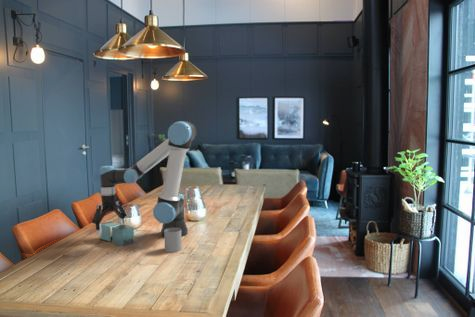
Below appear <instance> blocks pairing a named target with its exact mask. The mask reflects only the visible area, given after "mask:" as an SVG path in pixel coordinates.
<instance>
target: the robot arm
mask: <svg viewBox="0 0 475 317" xmlns="http://www.w3.org/2000/svg"><path fill="white" fill-rule="evenodd" d="M196 136H197V129H196V126H195V125H194V124H193V123H192V122H190V121H186V120H183V121H182V120H179V121H178V120H177V121H176V122H173V123H172V124H171V125H170V126H169V128H168V130H167V139H166V140H164V141H163V142H162V143H160V144H159V145H158V146H156V147H155V148H154V149H152V150H151V151H150V152H149V153H148V154H146V155H145V156H144V157H142V158H141V159H140V160H138V161H137V162H136V163H134V164H133V165H132V166H131V167H128V168H124V169H115V166H114V165H104V166H103V165H102V166H100V167H99V177H100V178H99V179H100V180H99V181H100V194H101V196H100V198H101V204H97V205H96V210H95V213H94V216H93V218H92V221H91V223H92V224H94V225H95V230H96V233H97V234H96V235H97V236H98V237H100V236H102V230H101V222H102V220H103V219H104V217H105V215H106V214H107V213H110V212H114V213H115V215H117V216H118V223H119V224H120V225H125V224H124V222H125V221H124V219H125V218H126V217H127V215H128V214H127V213H126V211H125V209H124V207H123V206H122V201H120V200H117V196H116V193H117V192H116V191H117V190H116V189H117V188H116V184H128V185H129V184H135V183H137V181H138V180H139V179H141V178H142V177H143V175H145V174H146V173H147V172H149V171H150V170H151V169H152V168H154V167H155V166H157V165H158V164H159V163H160V162H161V161H163V160H164V159H167V163H166V168H165V174H164V179H163V184H162V190H161V193H159V194H158V197H157V200H156V201H157V202H156V204H155V205H154V207H153V210H152V212H153V213H152V214H153V217H154V219H155V220H156V221H158V223H161V224H162V228H161V230H160V235H161V236H162V237H164V230H165V229H168V228H180V229H181V237H183V236H187V235H188V233H189V231H188V227H187V223H186V220H185V196H184V194H182V193H179V192H180V187H181V182H182V176H183V171H184V166H185V162H186V156H187V152H188V151H189V150H190V149H191V145H192V142H193V141H194V140H195V138H196Z"/></svg>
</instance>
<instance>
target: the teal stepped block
mask: <svg viewBox="0 0 475 317" xmlns="http://www.w3.org/2000/svg"><path fill="white" fill-rule="evenodd" d="M134 231H135V226H130V225H127V224H123V225H119V226H115V227H112V237H111V241H110V242H112V244H114V245H118V246H122V247H125V246H128V245H131V244H134V243H135V235H134V234H135V232H134Z"/></svg>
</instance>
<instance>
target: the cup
mask: <svg viewBox="0 0 475 317" xmlns="http://www.w3.org/2000/svg"><path fill="white" fill-rule="evenodd" d="M163 237H164V251H165V252H167V253H177V252H180V251H182V250H183V248H182V246H183V245H182V244H183V243H182V236H181V229H180V228H168V229H165V230H164V236H163Z"/></svg>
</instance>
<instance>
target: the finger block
mask: <svg viewBox="0 0 475 317" xmlns="http://www.w3.org/2000/svg"><path fill="white" fill-rule="evenodd" d="M100 224H101V230H102V236H99V239H101V240H104V241H108V242H112V241H111V237H112V227H115V226H119V225H120V224H119V222H115V221H105V222H102V223H101V222H100Z"/></svg>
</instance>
